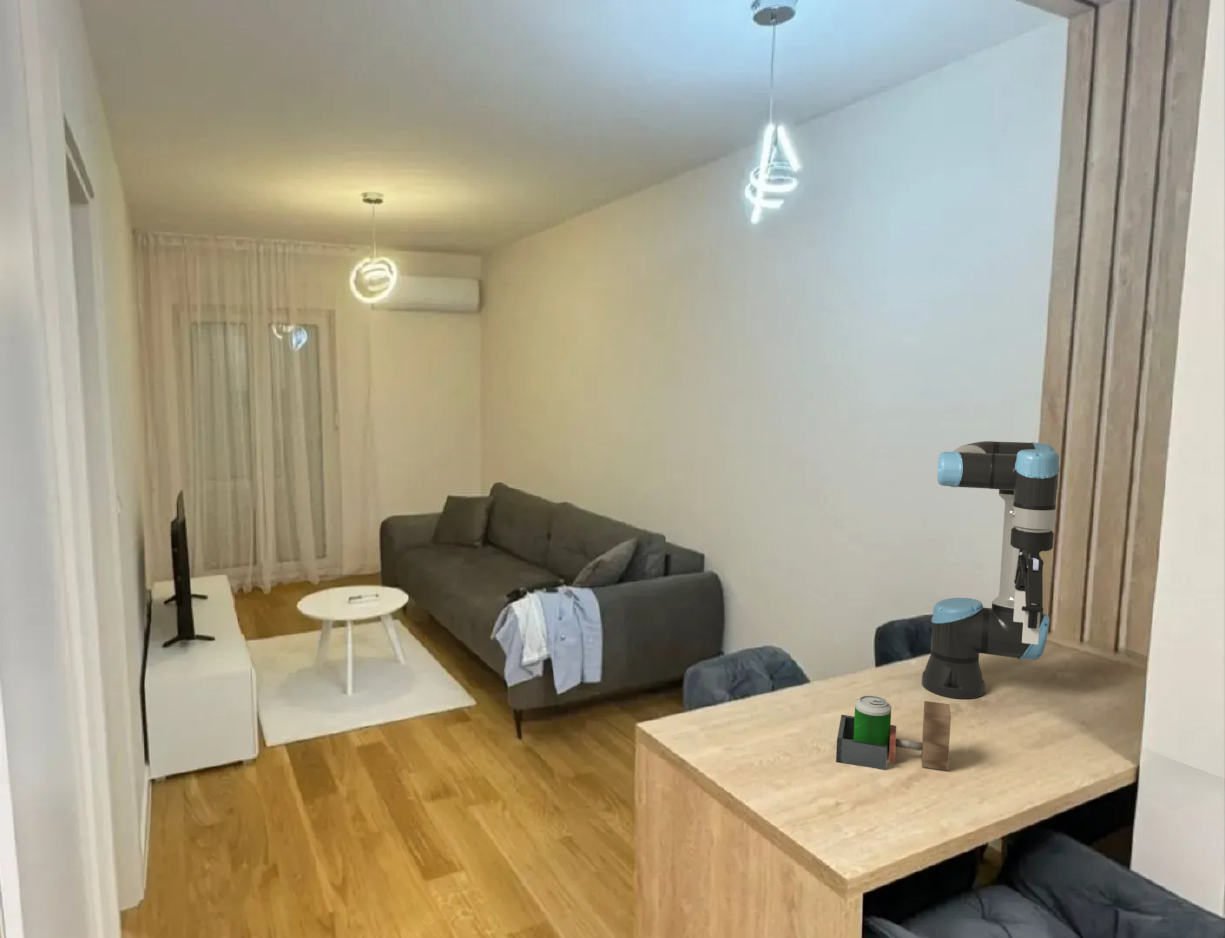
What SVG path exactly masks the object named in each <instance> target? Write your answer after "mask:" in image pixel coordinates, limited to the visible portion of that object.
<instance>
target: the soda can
mask: <svg viewBox="0 0 1225 938" xmlns="http://www.w3.org/2000/svg"><path fill="white" fill-rule="evenodd" d="M891 720H892V705H890V703H889V702H888V701H887V700H886V699H885V698H883V697H881V696H877V695H862V696H860V697H859V698H858V699H857V700H856V701H855V703H854V739H853V740H856V741H862V742H869V743H875V744H882V745H887V755H889V745H890V725H892V724H891V723H892V722H891Z"/></svg>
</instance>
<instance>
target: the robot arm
mask: <svg viewBox="0 0 1225 938" xmlns="http://www.w3.org/2000/svg"><path fill="white" fill-rule="evenodd" d="M937 463H938V464H937V483H938V485H940V486H944V487H951V488H968V489H990V490H998V495H999V497H1000V498H1002V500H1003V501H1004V512H1003V513H1004V514H1003V515H1004V516H1003V527H1002V528H1003V529H1002V542H1001V543H1002V544H1001V545H1002V546H1001V561H1000V576H999V593H998V596H997V597H995V598H994V599H993V600H992V601H991V607H984V605H983V602H982V601H980V600H978V599H975V598H974V599H973V598H969V597H952V598H946V599H942V600H939V601H938V602H936V603H935V604H934V606H933V611H932V617H931V623H932V625H931V637H930V639H931V640H930V653H929V654H930V655H929V658H928V660H927V663H926V666H925V668H924V669H925V670H923V672H922V674H921V685H922V687H923V688H924V689H925V690H928V691H929V692H931V693H933V694H936V695H939V696H942V697H945V698H952V699H958V700H959V699H962V700H963V699H965V700H969V699H971V700H972V699H977V698H981V697H982V696H983V695H984V694H985V687H986V683H985V680H984V679H983V673H982V669H981V666H980V661H979V660H980V654H985V655H991V656H999V657H1007V658H1011V659H1012V658H1013V659H1018V660H1020V661H1021V660H1028V661H1029V660H1030V661H1037V660H1039V659H1040V658H1041V657H1042V655H1043V654H1044V650H1045V647H1046V645H1047V640H1048V639H1047V638H1048V635H1049V626H1050V616H1049V615H1048V614H1046V613H1044V605H1043V604H1044V603H1043V602H1044V601H1043V600H1044V599H1043V598H1044V597H1043V596H1044V595H1043V594H1044V593H1043V590H1044V589H1043V586H1044V585H1043V584H1044V583H1043V581H1044V580H1043V578H1044V577H1043V576H1044V575H1043V572H1044V571H1043V569H1044V561H1043V560H1044V559H1042V558H1041V557H1042V556H1041V552H1048V551H1051V550H1052V549H1053V547H1054V537H1055V534H1054V533H1055V532H1054V530H1053V529H1055V525H1056V515H1057V507H1056V506H1057V504H1056V502H1057V495H1058V489H1059V473H1060V471H1061V469H1060V455H1059V454H1058V453H1057V452H1056V450H1055V448H1054V447H1053V446H1052V445H1051V444H1048V443H1040V442H1034V441H1033V442H1021V441H1015V442H1014V441H994V440H992V441H991V440H987V441H977V442H976V441H975V442H972V443H966V444H964V445H963V444H962V445H961V446H959V447H957V448H955V449H954V450H952V451H941V452H940V453H939V456H938V461H937Z"/></svg>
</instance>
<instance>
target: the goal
mask: <svg viewBox="0 0 1225 938" xmlns="http://www.w3.org/2000/svg"><path fill="white" fill-rule="evenodd" d="M854 717H855V715H854V716H852V715H847V714H841V715H840V721H839V727H838V732H837V738H836V753H835V754H836V755H835V756H836V757H835V759H836V760H835V762H836V763H840V764H846V765H853V766H860V767H865V768H866V767H867V768H871V769H876V770H877V769H878V770H884V771H886V770H887V760H888V759H887V758H888V754H887V745H882V744H875V743H869V742H862V741H856V740H854Z"/></svg>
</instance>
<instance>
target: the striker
mask: <svg viewBox="0 0 1225 938" xmlns="http://www.w3.org/2000/svg"><path fill="white" fill-rule="evenodd" d="M922 718H923V719H922V720H923V721H922V733H921V734H922V735H921V736H922V737H921V738H922V739H921V742H919V741H914V740H913V741H912V740H907V739H900V738H897V725H894V724H891V725H890V745H889V753H888V762H889V763H894V764H895V763H896V747H897V748H903V749H908V750H916V751H921V753H920V754H921V755H920V756H921V767H922V768H929V769H935V770H941V771H947V772H948V770H949V753H950V737H951V722H952V721H951V720H952V714H951V706H950V704H949V703H943V702H936V701H935V702H934V701H927V700H924V701H923V717H922Z"/></svg>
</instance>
